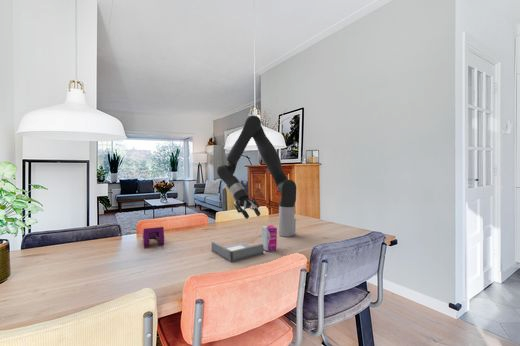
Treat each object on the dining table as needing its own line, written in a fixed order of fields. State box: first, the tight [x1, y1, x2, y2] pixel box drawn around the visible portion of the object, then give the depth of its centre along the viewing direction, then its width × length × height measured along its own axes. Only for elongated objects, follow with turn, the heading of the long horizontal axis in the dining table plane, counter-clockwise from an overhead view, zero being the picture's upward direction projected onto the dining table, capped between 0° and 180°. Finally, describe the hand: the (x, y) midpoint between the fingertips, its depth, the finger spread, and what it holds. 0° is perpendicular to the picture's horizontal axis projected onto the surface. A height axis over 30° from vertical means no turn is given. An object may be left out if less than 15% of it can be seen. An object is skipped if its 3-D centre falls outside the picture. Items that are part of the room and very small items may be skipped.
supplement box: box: [261, 224, 278, 252], centre depth 130 cm, size 6×6×12 cm
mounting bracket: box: [142, 226, 165, 248], centre depth 140 cm, size 10×8×18 cm
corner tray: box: [210, 241, 264, 263], centre depth 126 cm, size 18×18×4 cm
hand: (253, 216), depth 137 cm, fingers open, 8 cm apart
